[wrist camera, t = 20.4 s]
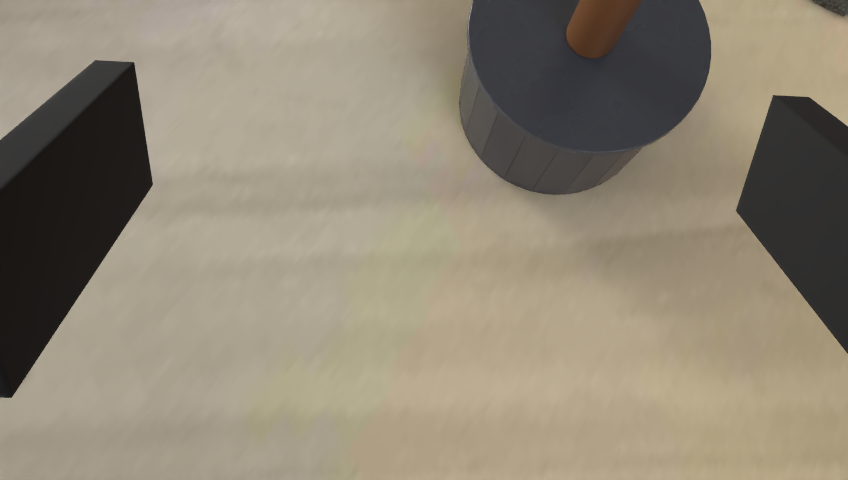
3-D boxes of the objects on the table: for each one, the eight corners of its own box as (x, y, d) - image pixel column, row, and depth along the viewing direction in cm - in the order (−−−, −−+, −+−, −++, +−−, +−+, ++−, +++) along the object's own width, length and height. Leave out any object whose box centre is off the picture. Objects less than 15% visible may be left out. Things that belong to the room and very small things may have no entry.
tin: (429, 148, 49) (439, 90, 40) (501, -6, 52) (525, -91, 43) (605, 225, 48) (654, 183, 39) (668, 65, 51) (726, -7, 42)
